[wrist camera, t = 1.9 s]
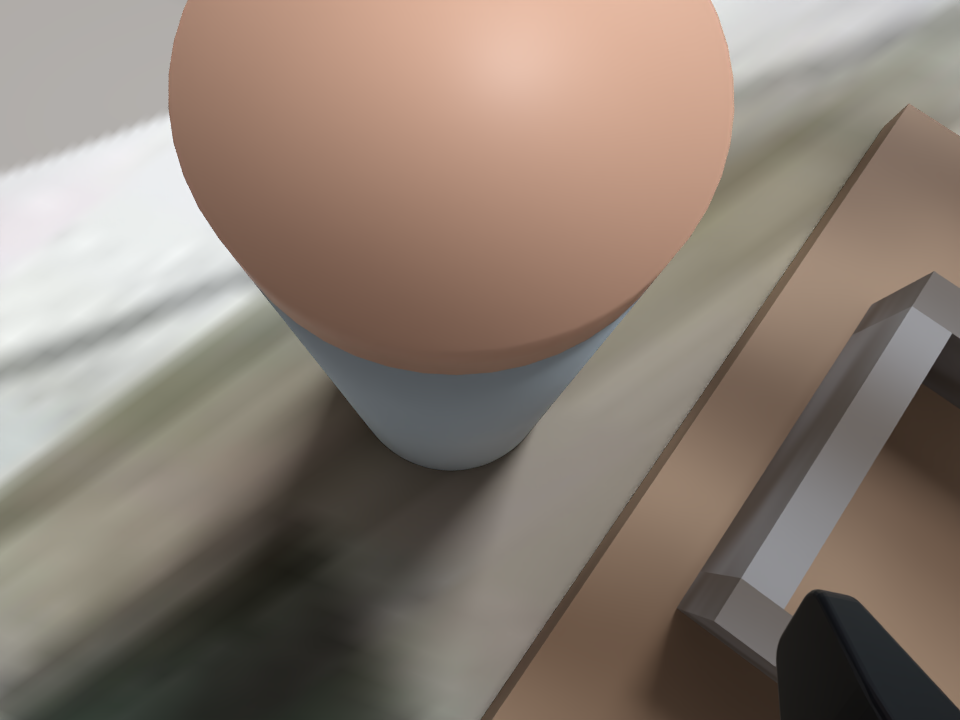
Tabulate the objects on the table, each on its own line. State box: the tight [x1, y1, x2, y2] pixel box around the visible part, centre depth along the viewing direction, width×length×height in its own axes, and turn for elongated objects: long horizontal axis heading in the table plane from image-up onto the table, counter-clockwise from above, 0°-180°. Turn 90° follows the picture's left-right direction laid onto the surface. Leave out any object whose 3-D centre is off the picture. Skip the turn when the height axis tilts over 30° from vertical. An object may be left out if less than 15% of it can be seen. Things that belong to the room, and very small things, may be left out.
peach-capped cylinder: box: [169, 0, 734, 471], centre depth 13 cm, size 5×5×13 cm
